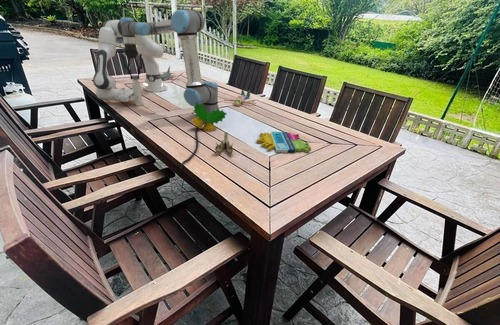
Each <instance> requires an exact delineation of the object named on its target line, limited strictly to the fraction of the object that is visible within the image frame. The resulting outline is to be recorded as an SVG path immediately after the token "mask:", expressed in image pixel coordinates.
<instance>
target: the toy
mask: <svg viewBox="0 0 500 325" xmlns="http://www.w3.org/2000/svg"><path fill="white" fill-rule="evenodd" d="M240 92H241V93H240V95H238V96H237V97H235V99H233V98H230V99H228V98H227V97H226V96H225V97H224V98H223V101H224V102H233V103H232V104H233V105H235V106H242V103H243V104H247V105H252V106H255V105H256V104H257V103H256V102H254V101H253V100H252V101H251V102H250V101H248V100H246V99H248V98H250V97H251V90H250V89H249V90H248V91H247V92H246V93H245V91H244V89H242V90H241V91H240Z"/></svg>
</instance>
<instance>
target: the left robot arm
mask: <svg viewBox="0 0 500 325" xmlns="http://www.w3.org/2000/svg"><path fill="white" fill-rule="evenodd" d="M117 38H123V34H122V28H121V21H120V19H108V20H105V21H104V22H103V25H102V27H100V29H99V33H98V39H97V40H98V44H97V47H98V48H97V54H96V62H95V72H94V75H93V78H92V83H93V85H94V87H95V88H96V89H95V92H94V93H95V96H96V98H97V99H99V100H101V101H108V102H110V101H113V102H125V103H127V102H130V101H131V100H134V99H137V98H138V96H134V95H133V88H132V89H130V88H126V87H122V88H116V86H117V82H116V79H115V78H114V77H113V76H111V75H109V74H107V66H108V62H109V60H110V59H111V58H114V57H115V56H116V52H117ZM135 41H136V43H135V44H136V48H137V52H138V53H140V54H142V57H141V59H142V62H143V64H144V68H145V79H144V82H143V85H144V88H143V90H144V91H147V92H150V93H159V92H164V91H166V89H167V86H166V85H165V84H164V81H163V80H162V79H161V76H160V74H161V72H160V67H159V66H160V65H159V63H158V62H157V60H155V59H158V58H159V59H160V58H162V57H163V56H164V54H165V51H164V47H163V46H162V45H160V44H158V43H157V42H155V41H154V40H153V39H152V38H150V37H149V35H146V36H140V35H135Z"/></svg>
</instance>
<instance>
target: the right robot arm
mask: <svg viewBox="0 0 500 325" xmlns="http://www.w3.org/2000/svg"><path fill="white" fill-rule="evenodd" d="M119 20H120V21H121V28H122V34H123V37H122V41H123V43H124V44H123V47H124V52H121V53H120V56H121V58H122V62H123V67H124V69H125V70H127V74H128V75H129V76H130V77H129V78H130V80H133V79H132V75H133V74H132V70H131V68H130V66H131V59H133V60H134V63H135V65H136V67H137V69H136V71H137V73H136V74H137V75H138V80H140V75H141V70H142V69H143V59H142V54H140V53H138V51H137V45H136V44H135V43H136V41H135V35H140V36H146V35H147V36H159V35H162V34H163V35H164V34H170V33H176V37H177V38H178V39H179V40H180V43H181V44H180V45H181V50H182V56H183V62H184V68H185V75H186V80H187V82H186V83H185V88H186V89H184V92H183V98H184V100H185V102H186V103H187V104H188V105H189V106H191V107H194V106H196V102H197V103H198V104H201V106H204V109H206V112H208V113H211V112H212V110H214V111H216V110H217V109H219V111H221V110H220V108H219V102H218V99H219V98H218V97H219V87H218V83H217V82H214V81H208V80H202V76H201V69H200V60H199V53H198V47H197V41H196V40H197V37H198V33H199V32H202V30H204V27H205V18H204V16H203V15H202V13H201V12H199V11H198V10H192V9H191V10H189V9H177V10H175V11H174V12H173V13H172V14H171V18H170V19H164V20H159V21H152V22H147V21H146V22H144V21H134V20H133V18H132V17H124V16H123V17H122V16H121V17H120V19H119ZM125 56H126V57H127V62H126V57H125ZM137 56H138V57H139V62H138V59H137ZM208 113H207V115H208ZM203 125H205V121H204V123H203ZM195 127H196V128H195V132H194V133H195V140H196V141H195V142H196V144H195V149H194V151H193V152H192V154H191V155H190V156H189V157H188V158H187V159H184V160H183V161H182V162H181V164H180V166H179V168H180V169H182V168H183V166H184V164H185V163H187V162H189V161H190V160H191V159H192V158H193V157H194V155H195V154H196V152H197V150H198V148H199V138H198V129H199V128H198V127H197V126H195Z"/></svg>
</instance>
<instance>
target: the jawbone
mask: <svg viewBox="0 0 500 325" xmlns="http://www.w3.org/2000/svg"><path fill="white" fill-rule="evenodd" d="M223 135H224V136H223V140H222V139H221V142H220V144H218V142H215V144H216V146H215V148H214V149H215V152H214V154H215V155H217V156H218V155H220V153H221V152H223V151H224V150H226V152H227V153H228V155H229V156H233V155H234V154H233V153H234V148H233V144H234V143H230V140H228V139H229V138H228V137H229V136H228V135H229V133H228V131H226V132H224V134H223Z"/></svg>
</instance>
